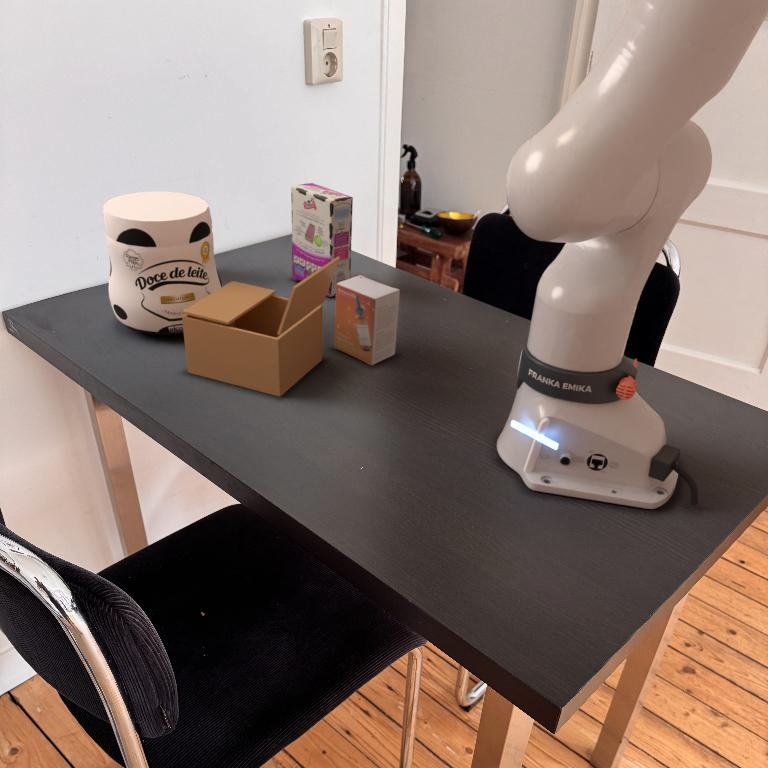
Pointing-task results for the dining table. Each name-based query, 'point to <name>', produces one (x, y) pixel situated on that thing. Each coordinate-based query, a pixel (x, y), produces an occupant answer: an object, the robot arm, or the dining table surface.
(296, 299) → the flap
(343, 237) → the candy bar box
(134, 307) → the doce de leite jar
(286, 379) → the carton
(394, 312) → the small box
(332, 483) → the dining table surface
